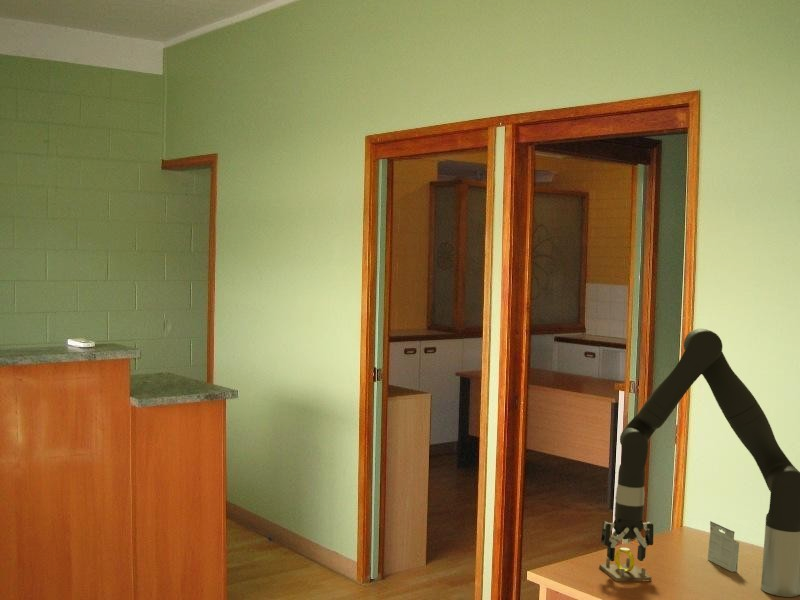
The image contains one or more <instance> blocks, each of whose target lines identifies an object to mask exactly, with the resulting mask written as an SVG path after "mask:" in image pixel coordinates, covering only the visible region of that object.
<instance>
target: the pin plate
mask: <svg viewBox="0 0 800 600" xmlns="http://www.w3.org/2000/svg"><path fill="white" fill-rule="evenodd" d="M605 561H606V562H605V564H604V563H602V564H599V567H598V568H599V569H600V570H601V571H602V572H604V573H605V574H606V575H608V576H609V577H610V578H612V579H613V580H614V581H615V582H616V583H619V582H644V581H643V580H651V581H652V580H653V579H652V577H651V576H650V575H649V574H648V573H646V568H645V567H644V568H641V569H640V568H639V567H638V566H636V565H635V564H634V567H633V569H632V570H631V571H630V572H625V569H627V570H628V569H629V566H630V559H629V557H626V560H625V563H620V565H621V566H622V568H624V569H621V570H619V569H618V567H617V566H616V563H615V564H614V563H613V564H611V561H610V560H609V558H607V557H606V560H605Z"/></svg>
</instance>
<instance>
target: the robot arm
mask: <svg viewBox="0 0 800 600" xmlns="http://www.w3.org/2000/svg"><path fill="white" fill-rule="evenodd" d="M683 341H684V342H683V349H684V352H682V353H683V354H682V356H681V357H680V359H679V361H678V362H677V364H676V365H675V367H673V370H672V371H671V372H670V373H669V374H668V376H666V378H664V379H663V381H662V382H661V383H660V384H659V385H658V386H657V387H656V388H655V389H654V390H653V391H652V393H651V395H649V397H648V398H647V399H646V401H645V403H644V404H643V406H641V408H640V410H639V412H638V413H637V414H636V415H635V416H634V417H633V418H632V419H631V421H630V422H628V424H627V425H626V426H625V427H624V429H623V430H622V432H621V434H620V437H619V443H620V446H621V447H620V448H621V454H620V455H621V456H620V465H619V467H618V472H617V473H618V475H617V476H618V477H617V487H616V491H615V503H614V504H615V505H614V506H615V507H614V521H613V522H608V521H606V520H605V521H603V522H602V529H601V538H600V542H601V543H602V544H603V545H604V546H606V548H607V549H606V558H609V560H610V562H615V555H616V546H617V544H618V543H619V542H621V541H622V540H636V541H637V543H638V544H639V545H638V546H637V560H638V561H640V562H643V561H644V560H645V558H646V550H647V547H649V546H653V545H654V524H653V523H652V522H650V521H645V522H643V520H644V511H645V509H644V508H645V494H646V493H645V479H646V464H647V460H648V459H647V458H648V452H649V439H650V438H652V435H653V434H654V433H655V431H656V430H657V429H659V428H661V427H662V426H663V425H664V424H665V422H666V421H667V420H668V418H669V417H670V416H671V414H672V413H673V411H674V410H675V409H676V407H677V405H678V404H680V402H681V400H682V398H683V397H684V396H685V394H687V392H688V391H689V389H690V388H691V386H692V385H694V383H695V382H696V381H697V379H698V378H699V377H700V376H701V375H702V376H703V378H704V380H705V381H706V383H707V384H708V386H709V389H710V390H711V393H712V394H713V397H714V399H715V401H716V403H717V405H718V408H719V409H720V410H721V413H722V414H723V416H724V417H725V419H726V421H727V423H728V424H729V426H730V427H731V428H730V429H732V430H733V432H734V433H735V435H736V437H737V438H738V440H739V441H740V442H741V443H742V444H743V446H744V447H745V448H746V450H747V451H748V452H749V454H750V455H751V456H752V457H753V459H754V461H755V463H756V466H757V467H758V469H759V471H760V474H761V476H762V477H763V479H764V482H765V483H766V487H767V489H768V490H769V492H770V497H769V505H768V506H769V507H768V508H769V509H768V513H766V515H765V524H764V525H765V526H764V543H763V555H762V566H761V567H762V569H761V583H760V589H761V590H762V591H763V592H765V593H767V594H770V595H772V596H777V597H782V598H783V597H784V598H794V597H797V596H800V471H799V470H798V468H796V466H794V464H793V463H792V462H791V461H790V460H789V458H788V457H787V456H786V454H785V452H784V451H783V450H782V449H781V447H780V445H779V442H778V441H777V439H776V437H775V433H774V432H773V431H774V430H773V429H772V426H771V424H770V422H769V420H768V417H767V415H766V414H765V412H764V410H763V409H762V407H761V406H760V403H759V402H758V401H757V399H756V398H755V396H754V395H753V393H752V392H751V391H750V389H749V388H748V387H747V385H746V384H745V383H744V382H743V380H741V378H740V377H739V376H738V375H737V374H736V373H735V372H734V370H733V369H732V367H731V366H730V364H729V362H728V360H727V359H726V356H725V355H724V353H723V342H722V339H721V338H720V336H719V335H718V334H717V333H716V332H715V331H712V330H709V329H708V328H707V329H706V328H696V329H693V330H691V331H690V332H688V333H687V334H686V335H685V339H684V340H683ZM613 529H614V530H613ZM643 530H644V532H645V533H644V537H643V534H641V532H642V531H643ZM612 531H613V532H612ZM611 532H612V534H611ZM610 535H611V536H610Z"/></svg>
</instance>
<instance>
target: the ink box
mask: <svg viewBox="0 0 800 600" xmlns="http://www.w3.org/2000/svg"><path fill="white" fill-rule="evenodd" d="M709 526H710V527H709V540H708V541H709V543H708V549H707V550H708V553H707V561H709V562H711V563H713V564H715V565H718V566H719V567H722V568H723V569H725V570H727V571H729V572H731V573H738V567H739V566H738V564H739V563H738V562H739V552H740V542H739V541H738V540H737V541H736V540H735V531H734V530H731V529H729V528H727V527H724V526H722V525H720V524H718V523H715V522H713V521H712V520H711V521H709ZM721 530H722V532H721Z"/></svg>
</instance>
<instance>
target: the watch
mask: <svg viewBox="0 0 800 600" xmlns="http://www.w3.org/2000/svg"><path fill="white" fill-rule="evenodd" d="M621 553H626V555H627V556H628V558H629V559H630V566H629V569H628V570H627V569H625V572H630V571H631V570H632V569H633V567H634V565H635V558H634V555H633V554H632V552H631V549H630V548H628V547H620V548H619V550H617V551H616V552H615V557H614V562H615V564H616V566H617V567H618V569H619V570H621V569H624V568H622V566H621V565H620V564H621V562H620V556H621Z"/></svg>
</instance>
